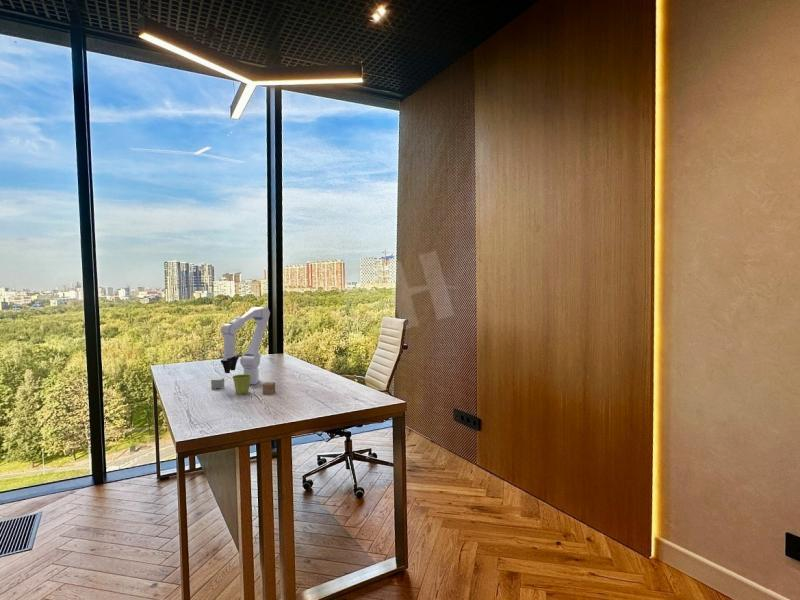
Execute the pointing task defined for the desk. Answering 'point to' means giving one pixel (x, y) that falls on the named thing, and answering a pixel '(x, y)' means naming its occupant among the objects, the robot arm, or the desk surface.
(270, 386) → the walnut block
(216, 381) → the slate block
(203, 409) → the desk surface
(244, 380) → the plant pot
